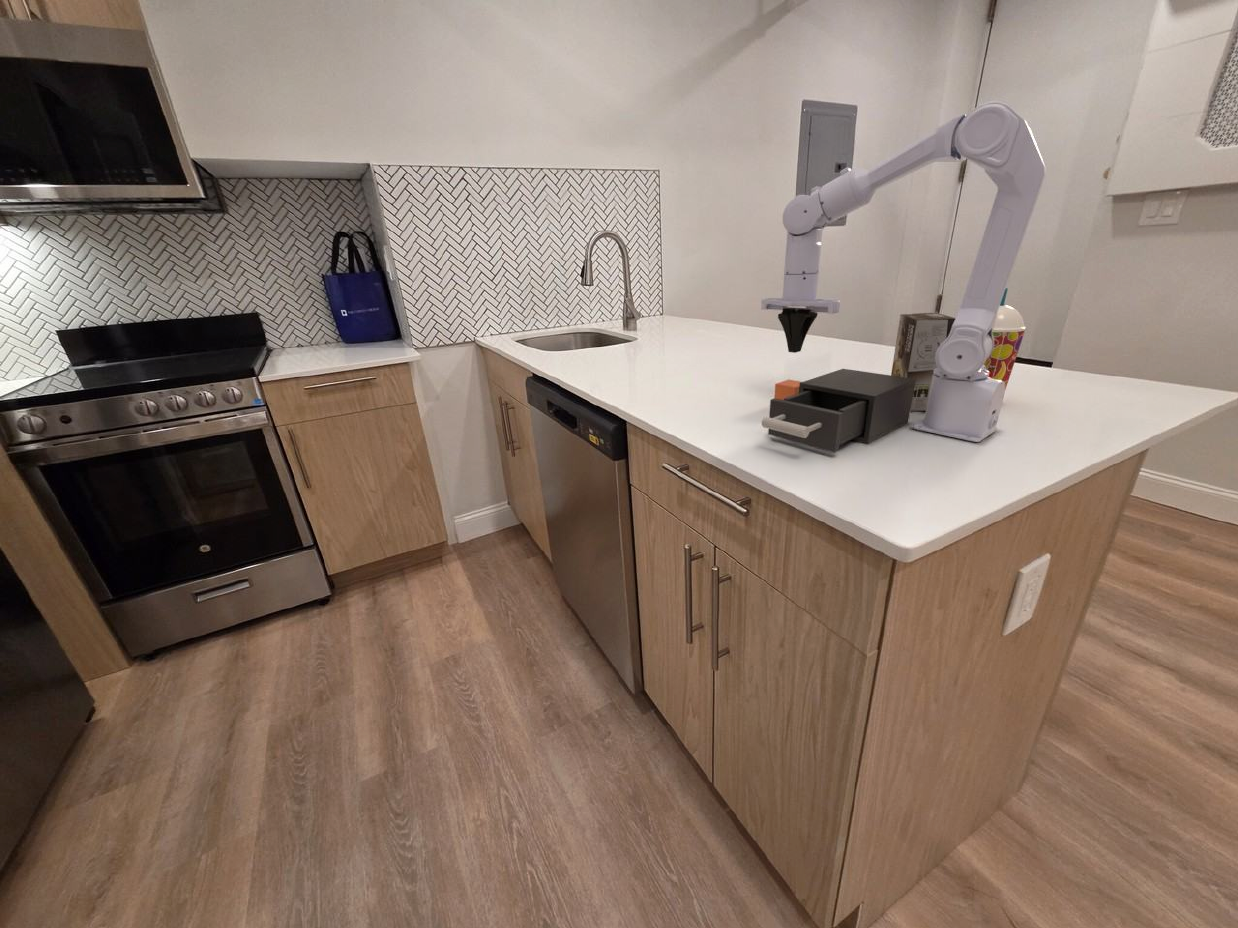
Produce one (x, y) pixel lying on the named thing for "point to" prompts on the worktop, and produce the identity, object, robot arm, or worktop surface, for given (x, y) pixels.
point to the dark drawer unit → (870, 398)
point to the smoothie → (1005, 342)
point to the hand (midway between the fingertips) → (794, 351)
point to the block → (786, 389)
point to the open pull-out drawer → (817, 419)
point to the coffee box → (919, 351)
